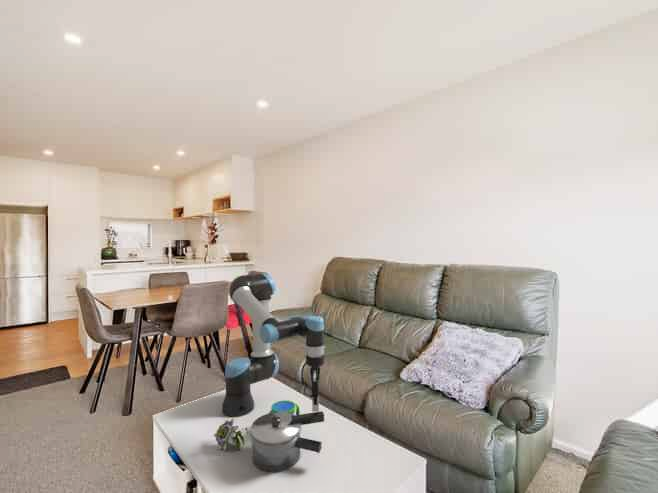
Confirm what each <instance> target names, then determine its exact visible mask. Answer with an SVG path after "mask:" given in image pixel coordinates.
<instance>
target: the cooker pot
mask: <svg viewBox="0 0 658 493" xmlns="http://www.w3.org/2000/svg"><path fill="white" fill-rule="evenodd" d="M251 440H252V442H251V444H252V446H251V447H252V463H253V466H254V467H255V468H256V469H258V470H259V471H262V472H264V473H270V474H271V473H272V474H274V473H281V472H285V471H287V470H289V469H291V468H293V467H294V466H295V465H296V464H297V463H298V462H299V460H300V458H301V449H303V450H306V451H310V452H315V453H320V452H321V450H322V448H323V447H322V442H323V441H320V440H319V441H318V440H316V439H315V440H313V439H310V438H304V437H301V432H300V433H299V434H298V436H297V437H295V438H294V439H292V440H291V441H288V442H286V443H282V444H277V445H267V444H262V443H259V442H257V441H255V440H254V439H253V438H252V437H251Z"/></svg>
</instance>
